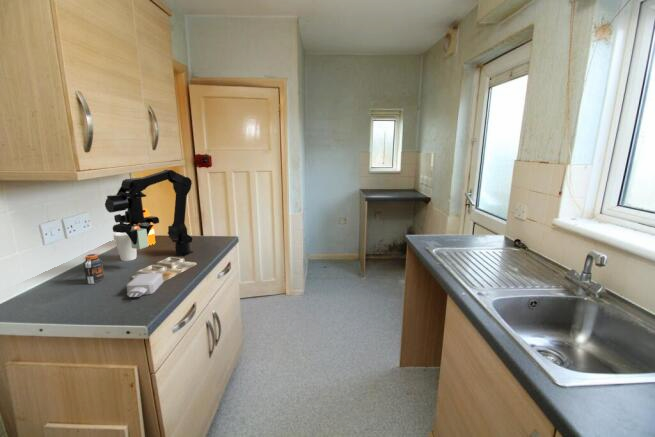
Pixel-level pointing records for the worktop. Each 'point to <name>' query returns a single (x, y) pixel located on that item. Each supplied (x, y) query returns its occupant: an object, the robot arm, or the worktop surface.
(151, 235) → the orange juice
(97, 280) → the pill bottle
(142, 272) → the socket board
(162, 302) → the worktop surface
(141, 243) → the plug
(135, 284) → the charger
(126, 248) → the foam cup
